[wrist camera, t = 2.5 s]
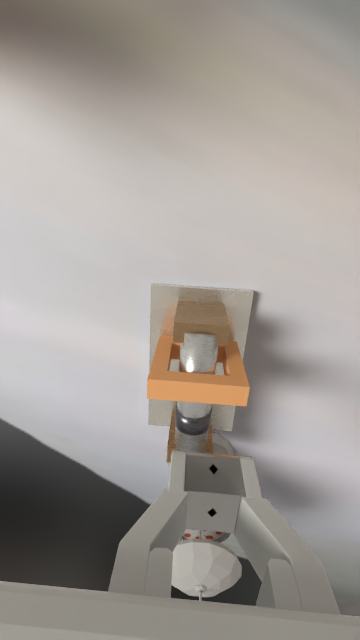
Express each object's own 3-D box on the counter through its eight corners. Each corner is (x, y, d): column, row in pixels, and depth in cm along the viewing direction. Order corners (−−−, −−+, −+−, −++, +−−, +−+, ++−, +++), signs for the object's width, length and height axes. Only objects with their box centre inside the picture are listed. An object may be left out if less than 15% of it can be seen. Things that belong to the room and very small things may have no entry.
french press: (248, 450, 40) (317, 784, 17) (201, 497, 44) (206, 819, 21) (189, 417, 39) (177, 736, 16) (146, 469, 43) (85, 784, 20)
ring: (236, 341, 32) (249, 387, 24) (234, 357, 33) (246, 406, 25) (159, 335, 33) (147, 379, 25) (159, 351, 33) (147, 398, 25)
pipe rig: (252, 290, 32) (269, 316, 24) (231, 427, 39) (239, 478, 32) (152, 283, 32) (138, 307, 25) (149, 420, 39) (138, 470, 32)
